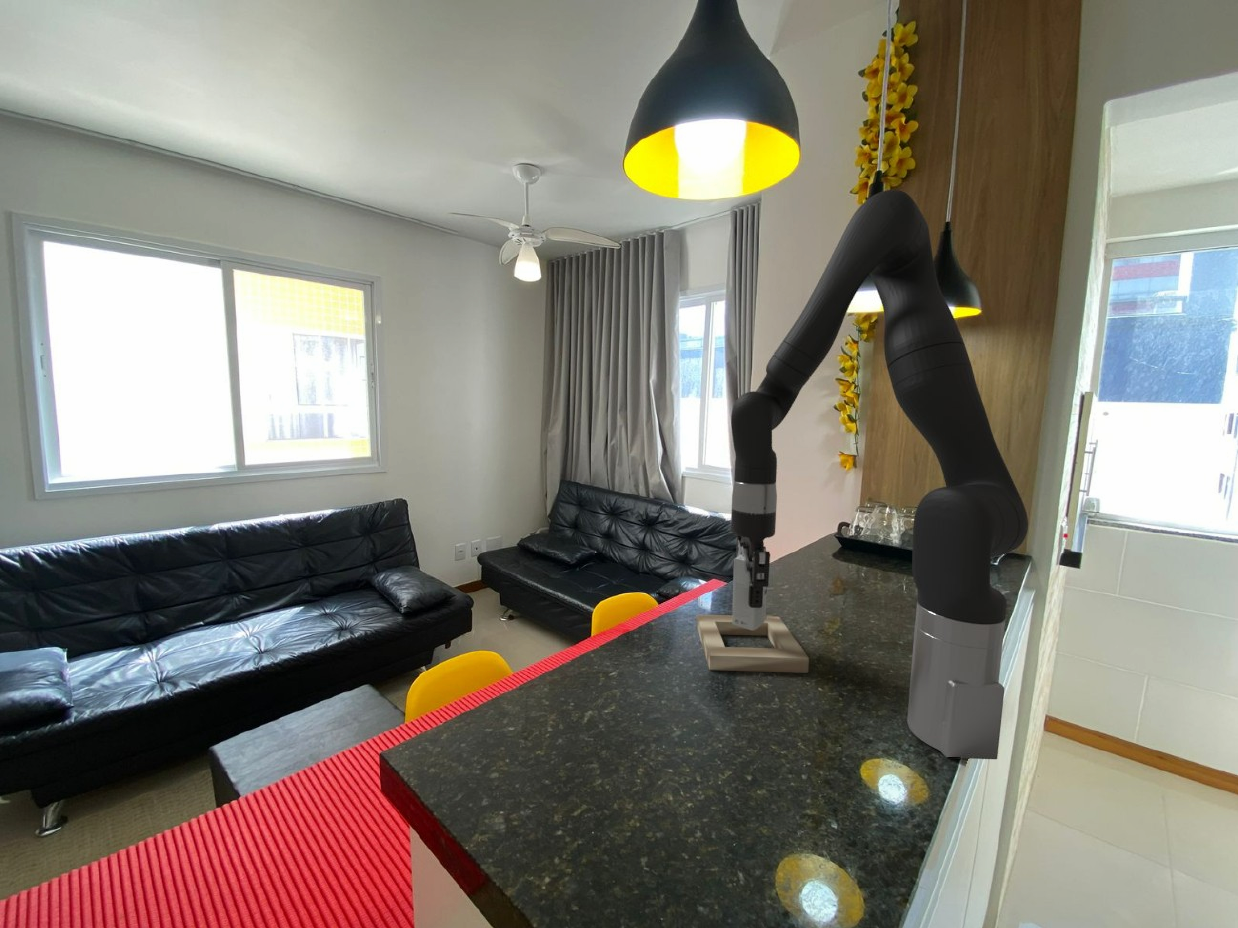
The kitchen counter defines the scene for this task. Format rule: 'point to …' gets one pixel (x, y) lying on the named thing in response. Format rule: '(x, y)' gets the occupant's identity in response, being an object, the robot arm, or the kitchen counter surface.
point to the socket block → (750, 659)
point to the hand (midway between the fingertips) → (749, 598)
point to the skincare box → (745, 599)
